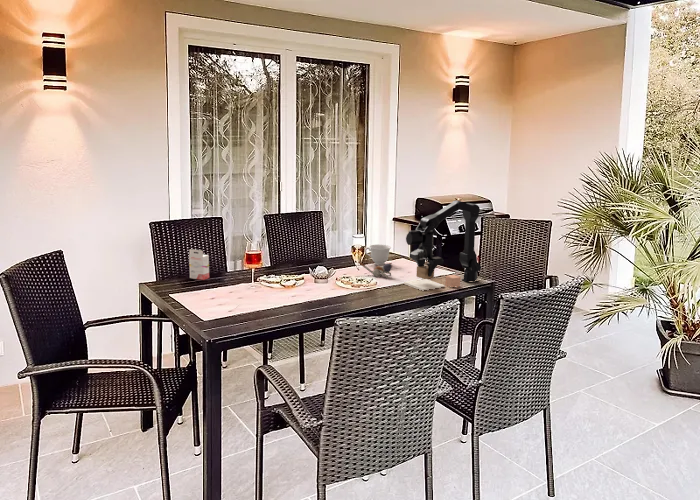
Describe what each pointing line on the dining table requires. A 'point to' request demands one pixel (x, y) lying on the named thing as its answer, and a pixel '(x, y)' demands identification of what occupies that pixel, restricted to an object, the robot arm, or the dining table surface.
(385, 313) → the dining table surface
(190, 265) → the ink cartridge box
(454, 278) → the clay block
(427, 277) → the walnut block
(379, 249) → the teacup
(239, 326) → the dining table surface
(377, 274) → the toy
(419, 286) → the pad
